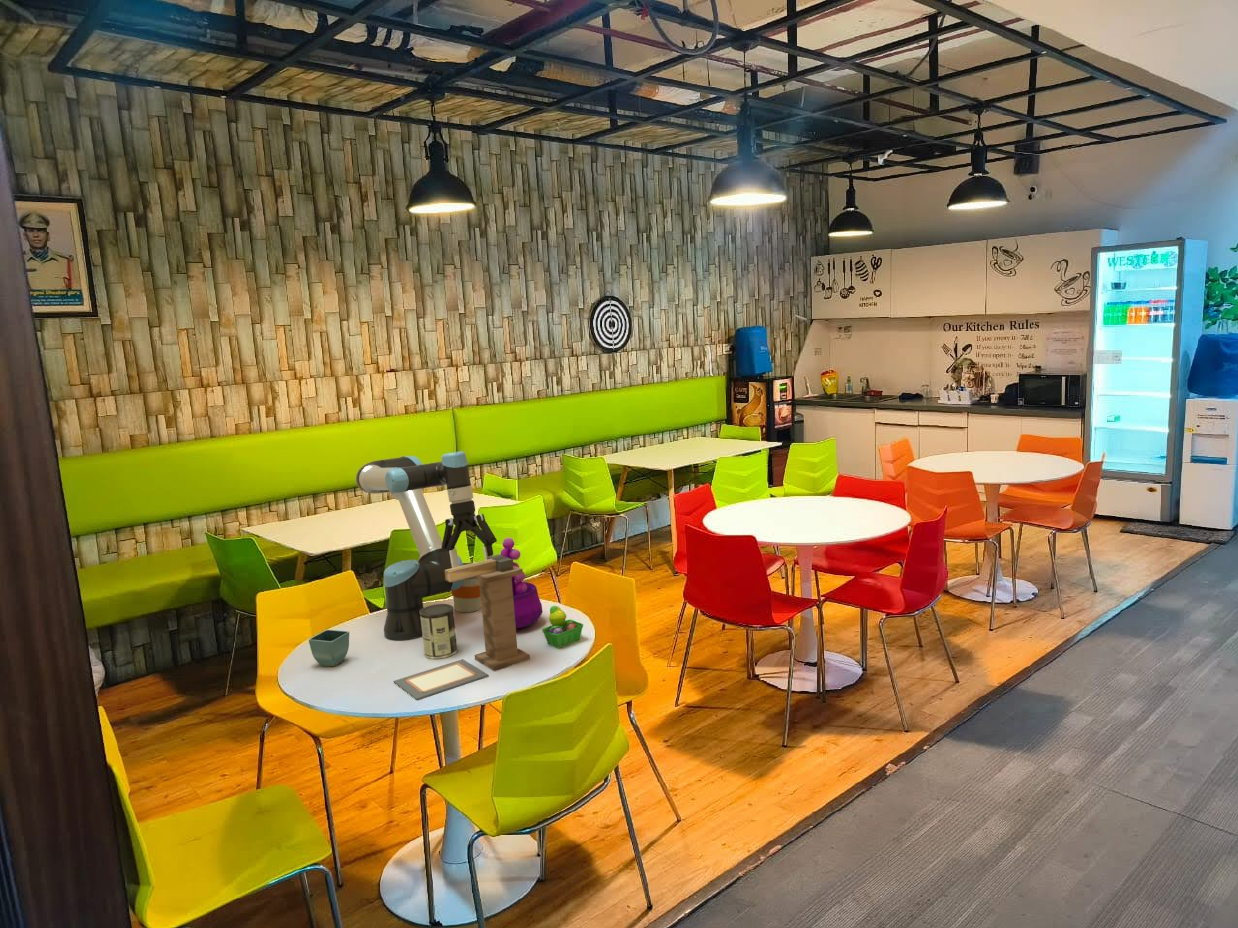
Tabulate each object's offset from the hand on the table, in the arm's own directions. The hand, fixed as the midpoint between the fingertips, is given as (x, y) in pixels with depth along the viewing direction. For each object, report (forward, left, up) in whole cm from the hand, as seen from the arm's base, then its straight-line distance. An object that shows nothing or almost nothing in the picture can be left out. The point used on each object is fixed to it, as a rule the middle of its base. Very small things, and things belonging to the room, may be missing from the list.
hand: (473, 568), depth 263 cm
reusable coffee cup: (-33, +13, -24) cm, 43 cm away
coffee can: (-2, -12, -25) cm, 28 cm away
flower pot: (-19, -40, -25) cm, 51 cm away
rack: (+17, -1, -25) cm, 30 cm away
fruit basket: (+18, +20, -25) cm, 36 cm away
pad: (+17, -21, -25) cm, 37 cm away
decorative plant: (-6, +17, -25) cm, 30 cm away
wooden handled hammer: (+17, -7, +3) cm, 19 cm away
